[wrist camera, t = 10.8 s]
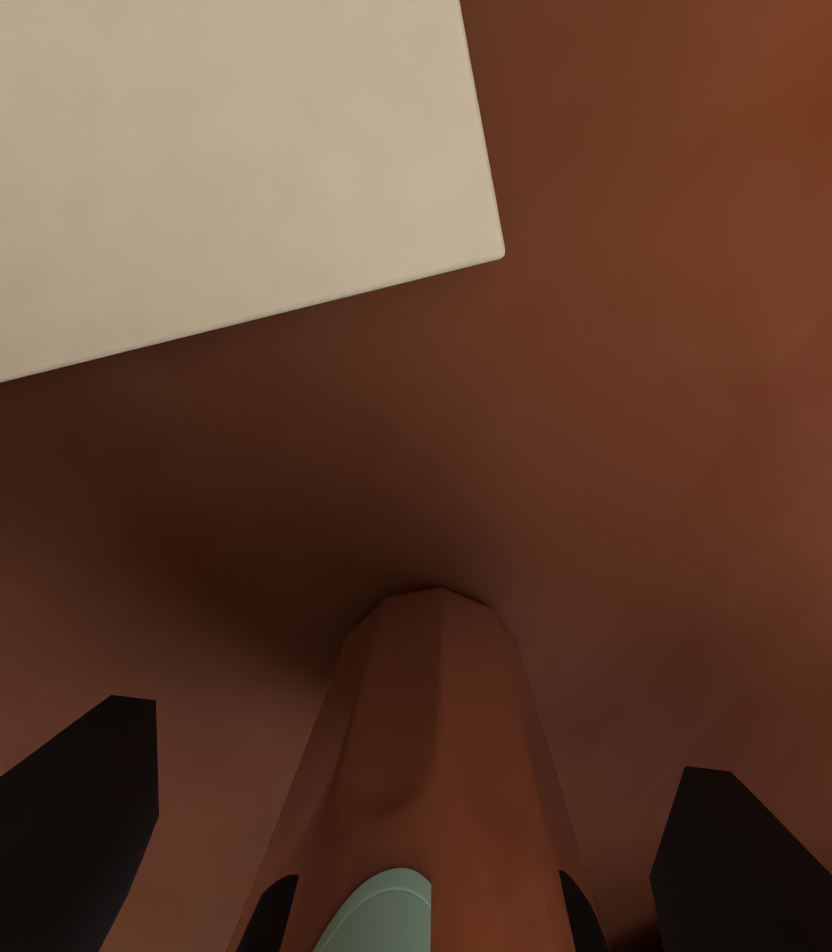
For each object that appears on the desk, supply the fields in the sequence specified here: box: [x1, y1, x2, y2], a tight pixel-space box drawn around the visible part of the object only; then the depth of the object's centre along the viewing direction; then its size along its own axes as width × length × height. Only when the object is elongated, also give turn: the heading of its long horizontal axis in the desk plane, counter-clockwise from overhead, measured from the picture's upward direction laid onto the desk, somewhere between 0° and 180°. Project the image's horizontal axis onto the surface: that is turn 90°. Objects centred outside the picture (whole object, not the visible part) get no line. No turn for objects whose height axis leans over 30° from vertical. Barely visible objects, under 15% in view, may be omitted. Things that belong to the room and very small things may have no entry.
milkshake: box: [226, 587, 612, 952], centre depth 7 cm, size 4×5×10 cm
